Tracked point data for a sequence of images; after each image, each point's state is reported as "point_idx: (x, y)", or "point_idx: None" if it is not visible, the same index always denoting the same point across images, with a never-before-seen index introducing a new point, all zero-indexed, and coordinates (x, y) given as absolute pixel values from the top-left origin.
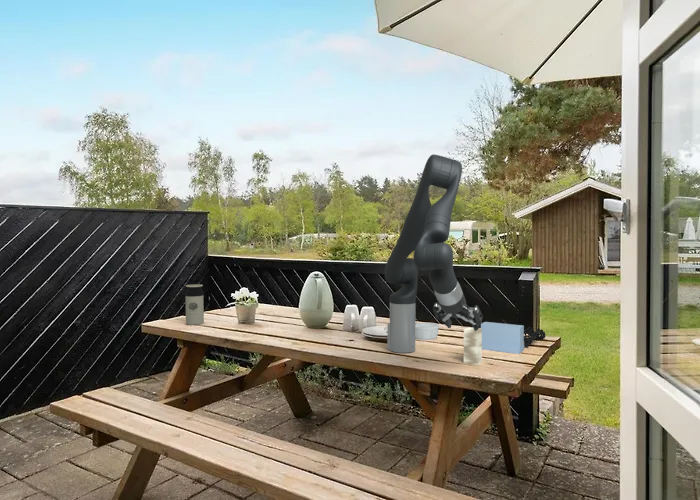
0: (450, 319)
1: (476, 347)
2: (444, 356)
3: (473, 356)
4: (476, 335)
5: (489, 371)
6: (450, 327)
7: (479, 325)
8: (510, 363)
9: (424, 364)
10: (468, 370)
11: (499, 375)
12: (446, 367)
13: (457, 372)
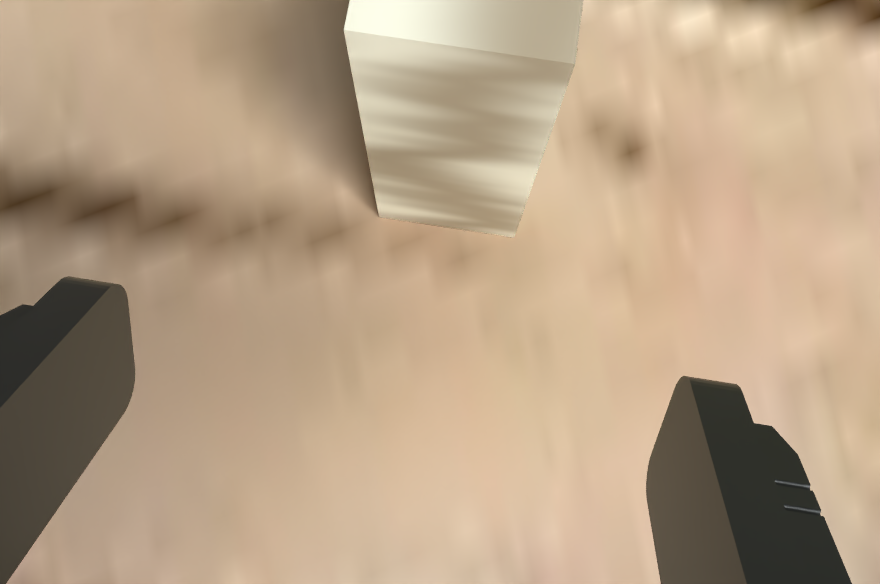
0: (49, 353)
1: (528, 170)
2: (160, 46)
3: (483, 203)
4: (549, 97)
5: None
6: (130, 379)
7: (792, 465)
8: (783, 63)
9: None
10: (472, 458)
11: None
12: (245, 435)
13: (384, 578)
